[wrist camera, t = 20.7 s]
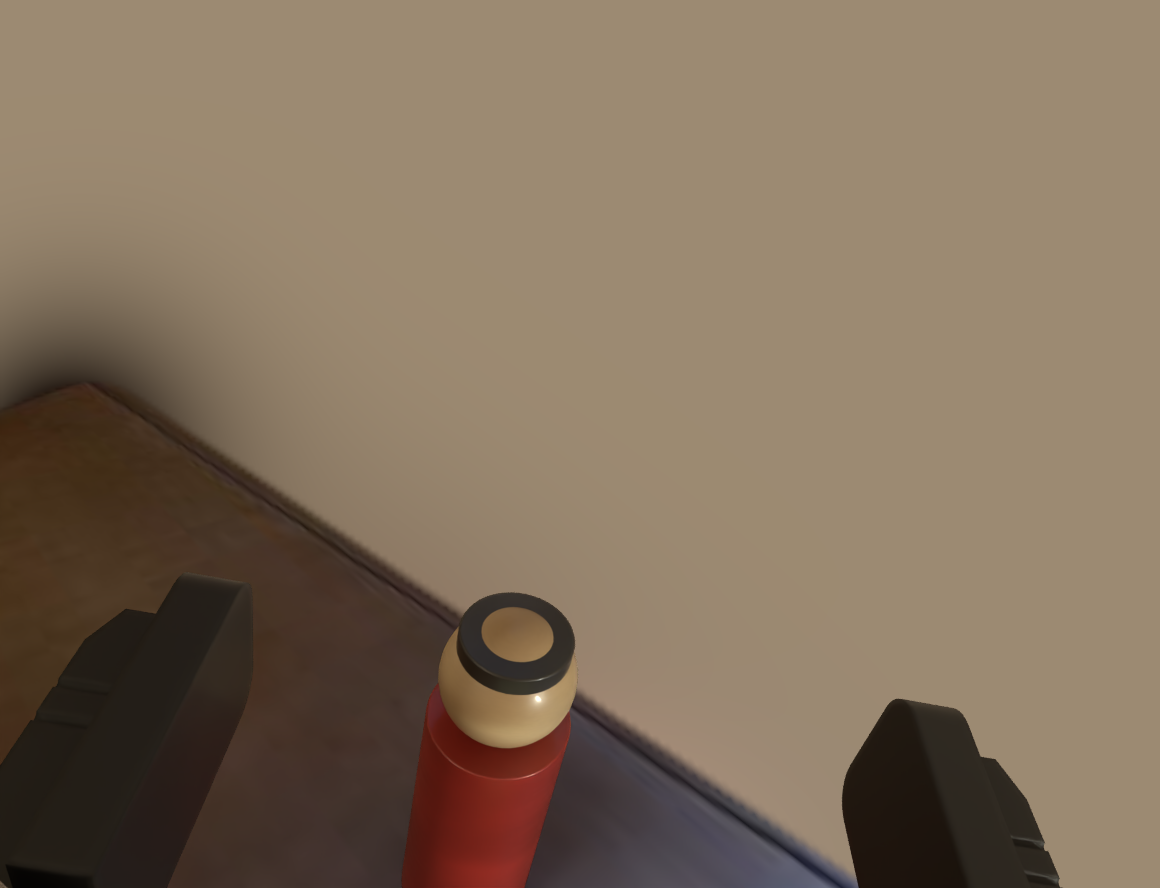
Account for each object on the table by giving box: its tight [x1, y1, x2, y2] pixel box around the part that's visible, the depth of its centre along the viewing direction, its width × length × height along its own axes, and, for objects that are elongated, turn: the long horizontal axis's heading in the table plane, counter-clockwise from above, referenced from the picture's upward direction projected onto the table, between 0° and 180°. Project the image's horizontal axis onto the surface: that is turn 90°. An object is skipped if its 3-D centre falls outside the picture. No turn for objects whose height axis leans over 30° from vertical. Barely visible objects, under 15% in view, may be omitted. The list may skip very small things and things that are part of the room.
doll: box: [402, 593, 578, 888], centre depth 31 cm, size 5×5×14 cm
